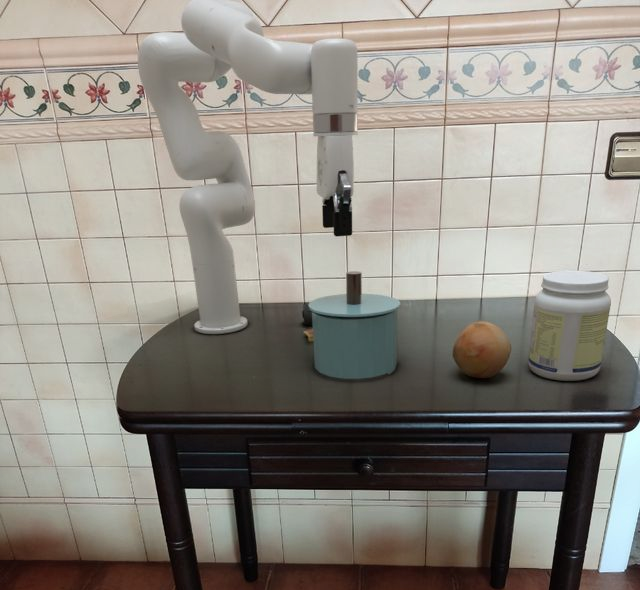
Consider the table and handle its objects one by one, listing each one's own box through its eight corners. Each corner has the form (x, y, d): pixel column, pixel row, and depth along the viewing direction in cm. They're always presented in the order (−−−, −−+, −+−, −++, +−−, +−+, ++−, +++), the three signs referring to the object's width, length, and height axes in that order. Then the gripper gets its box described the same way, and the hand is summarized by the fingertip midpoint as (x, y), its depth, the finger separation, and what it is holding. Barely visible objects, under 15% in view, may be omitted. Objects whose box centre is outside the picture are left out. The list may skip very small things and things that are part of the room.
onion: (515, 385, 102) (521, 329, 98) (456, 387, 103) (460, 331, 98) (501, 365, 111) (505, 313, 107) (447, 367, 112) (449, 315, 107)
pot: (307, 357, 120) (304, 301, 115) (383, 349, 123) (383, 293, 118) (323, 385, 106) (320, 323, 101) (407, 375, 109) (409, 314, 104)
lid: (301, 302, 116) (300, 268, 113) (384, 296, 119) (385, 262, 116) (318, 323, 101) (316, 284, 98) (412, 316, 103) (414, 277, 101)
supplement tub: (594, 360, 111) (609, 269, 104) (604, 385, 101) (622, 285, 93) (525, 357, 114) (535, 268, 107) (528, 381, 104) (539, 284, 96)
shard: (354, 345, 126) (354, 337, 125) (323, 352, 123) (322, 344, 122) (329, 332, 134) (329, 325, 134) (299, 339, 131) (299, 331, 130)
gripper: (304, 126, 108) (308, 225, 115) (323, 127, 92) (326, 240, 100) (345, 125, 109) (346, 223, 117) (370, 125, 94) (369, 238, 101)
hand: (336, 231), depth 108 cm, fingers open, 9 cm apart
